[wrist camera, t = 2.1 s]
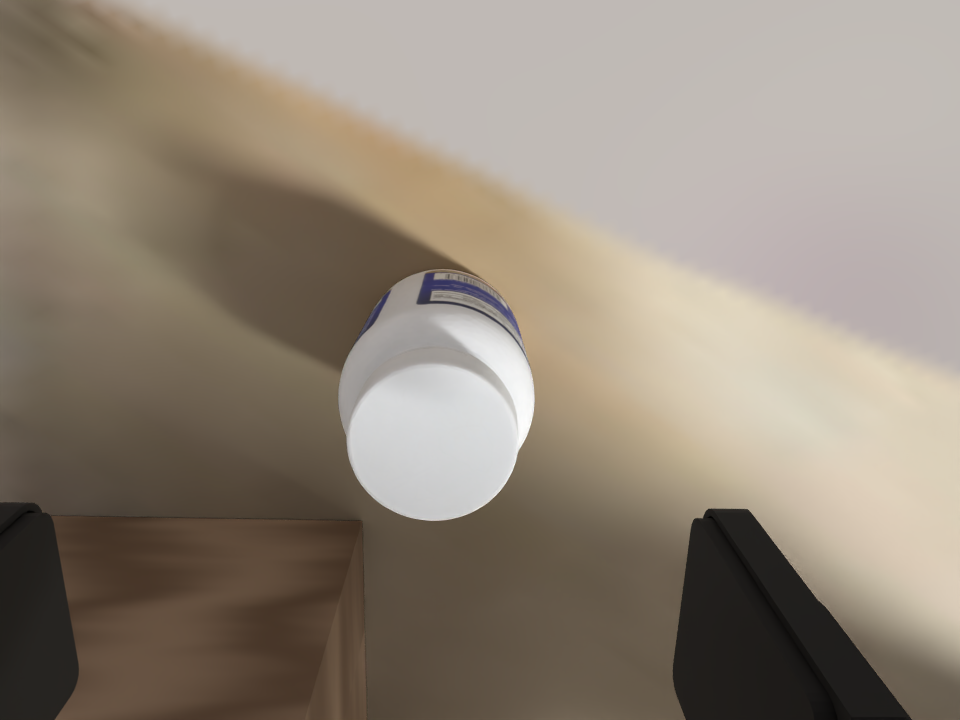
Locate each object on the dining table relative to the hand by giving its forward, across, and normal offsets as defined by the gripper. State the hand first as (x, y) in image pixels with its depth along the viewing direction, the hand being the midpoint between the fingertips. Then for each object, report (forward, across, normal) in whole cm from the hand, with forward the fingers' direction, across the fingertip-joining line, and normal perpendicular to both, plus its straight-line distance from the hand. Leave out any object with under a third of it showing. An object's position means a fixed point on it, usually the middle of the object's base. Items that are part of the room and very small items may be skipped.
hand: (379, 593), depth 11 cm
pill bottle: (+15, -1, 0) cm, 15 cm away
